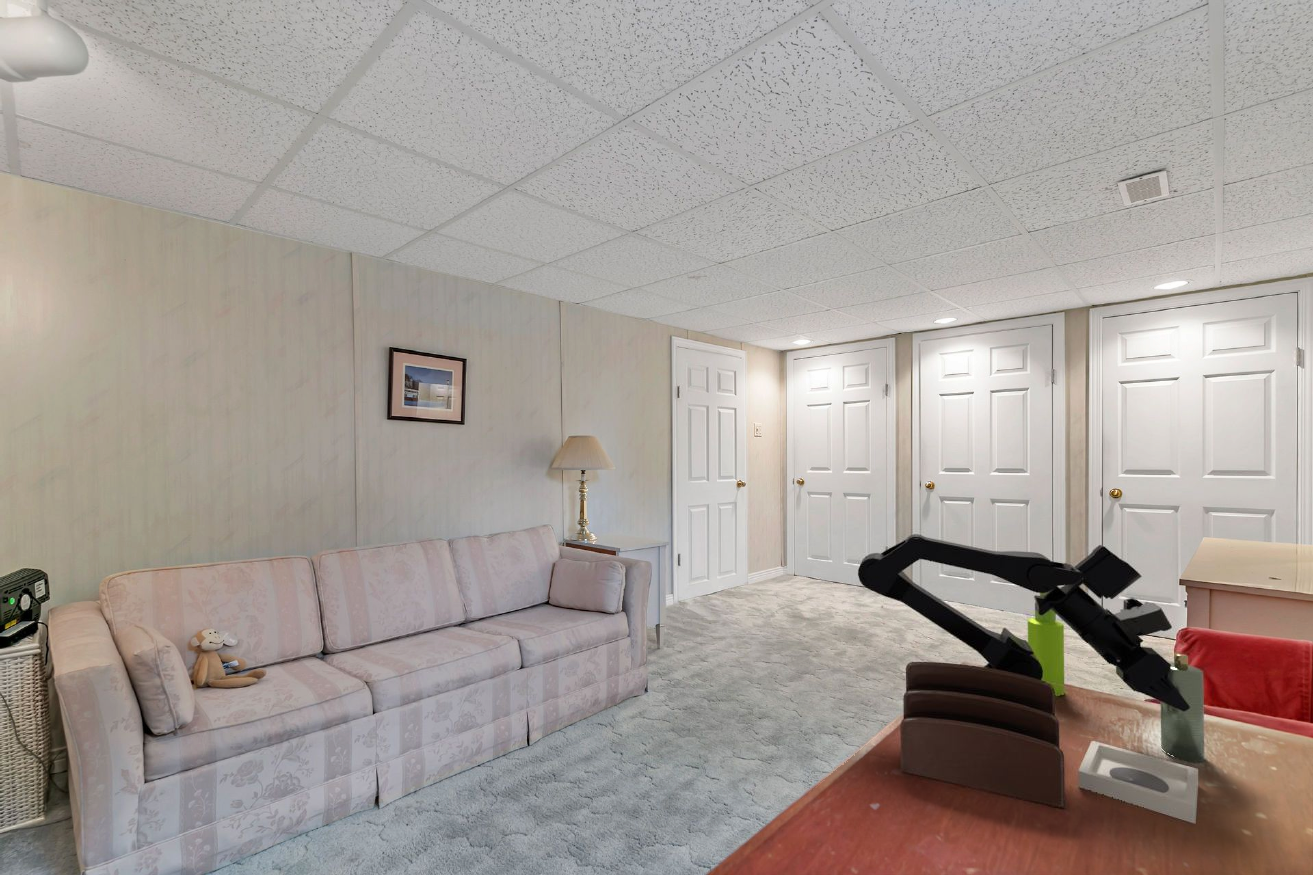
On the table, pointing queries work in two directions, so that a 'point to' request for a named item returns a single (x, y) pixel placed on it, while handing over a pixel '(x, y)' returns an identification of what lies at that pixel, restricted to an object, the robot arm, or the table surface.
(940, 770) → the letter holder
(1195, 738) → the green bottle
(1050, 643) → the soap dispenser
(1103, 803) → the table surface
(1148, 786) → the tray
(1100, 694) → the table surface
